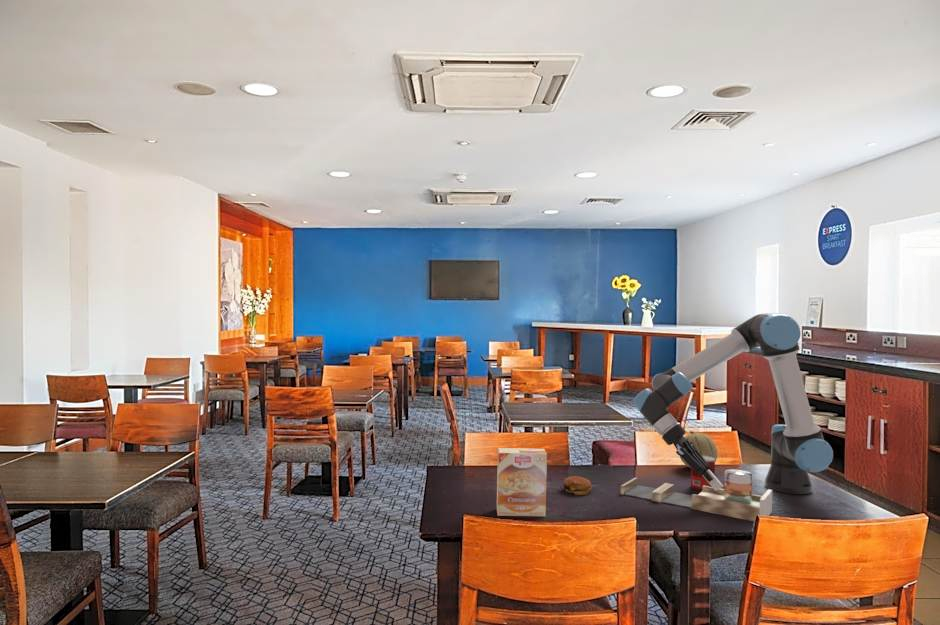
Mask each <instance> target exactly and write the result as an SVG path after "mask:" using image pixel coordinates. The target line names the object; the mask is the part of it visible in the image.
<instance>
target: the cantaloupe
mask: <svg viewBox="0 0 940 625" xmlns="http://www.w3.org/2000/svg"><path fill="white" fill-rule="evenodd" d="M683 437H684V438H686V439H687V440H688V441H689V442H693V443H694V445H695V447H696V448H697V450H698V451H699V452H700V454H701V455H702V456H709V457H712V458H714V459H715V463H716V462H717V460H718V455H719V454H718V448H717V446H716V443H715V442H714V440H713V439H712V438H711V437H709V436H708V434H705V433H701V432H694V431H692V430H690V431H689V434H687V435H685V436H683ZM679 458H680V460H681V463H683V464H684V465H685V466H686V467H688V468H690V469H691V467H690V466H689V464H688V463H687V462H686V461H685V460H684V459H683V458H682V457H680V456H679Z"/></svg>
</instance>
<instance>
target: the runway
mask: <svg viewBox="0 0 940 625" xmlns="http://www.w3.org/2000/svg"><path fill="white" fill-rule="evenodd" d="M638 483H639V480H638V477H634V478H632V479H630V480H628V481H626V482H625V483H623V484H622V485H620V495H622V496H627V497H632V498H636V499H640V500H641V499H642V500H647V501H650V502H651V501H652V502H656V503H661V504H664V505H665V504H667V505H671V506H675V507H681V508H685V509H691V510H696V511H699V512H700V511H701V512H705V513H711V514H716V515H721V516H725V517H731V518H736V519H740V520H745V521H751V522H755V519H756V516H757V515H759V511H760V506H754V505H749V504H744V503H738V502H733V501H728V500H724V488H722V487H721V488H720V489H718V490H717V491H715V490H714V489H713V487H709V486H703V491H701V492H699V493H698V494H694V493H692V494H686V493H681V492H675V484H673V483H668V482H664V483H663V484H662V485H660V486H658V487H656V488H655V487H650V486H645V485H640V484H638ZM762 496H763V495H759V494H753V493H752V500H756V501H760V499H761V497H762Z"/></svg>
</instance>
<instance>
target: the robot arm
mask: <svg viewBox="0 0 940 625" xmlns="http://www.w3.org/2000/svg"><path fill="white" fill-rule="evenodd" d="M800 339H801V328H800V325H799V324H798V323H797V321H796V320H795V319H794V318H792V316H790V315H786V314H783V313H777V312H776V313H768V312H767V313H759V314H756V315H754V316H751V317H750V318H749V319H747V320H745V321H744V322H742V323H741V324H739V325H738V326H736V327H734V328H733V329H731V332H730V334H728V335H726V336H724V337H723V338H721V339H719V340H717V341H715V342H714V343H713V344H710V345H709V346H708V347H705V348H704V349H702V350H700V351H698V352H697V353H696V354H693V355H691V356H690V357H689V358H687V359H686V360H683V361H681V362H680V363H678V364H677V365H675V366H673V367H672V368H670V369H668V370H667V371H665V372H660V373H659V372H658V373H657V374H655V375H654V376H653V377H652V379H651V386H652V389H653V390H651V389H650V388H645V389H643V390H642V391H640V392H639V393H637V394H636V396H635V397H634V398H633V400H632V403H633V405H634V406H635V407H636V408H637V410H638V411H639V412H640V414H641V415H642V417H644V418H645V420H646V421H647V422H648V423H649V424H650V425H651V427H653V431H654V432H657V434H658V435H659V436H662V437H661V439H662V440H663V441H664V442H665V443H666V444H667V445H668V446H671V445H673V446H674V448H675V449H676V451H675V452H676V455H678V456H679V458H680V457H682V458H683V459H684V460H685V461H686V462H687V463H688V464H689V466H690V467H691V468H692V469H693V470H694V471H695V472H696V473H697V474H698V475H699V476H700V475H701V474H702V476H703V477H704V478H705V479H706V480H707V482H708V483H709V484H710V485H711V486H712V487H713V489H714V490H715V491H717V490H718V489H720V488H721V489H722V487H724V484H723V483H722V482H721V481H720V480H719V478H717V476H716V475H714V474H713V473H712V472H711V471H710V469H709V468H711V466H709V464H708V463H707V462H706V460H705V459H704V458H703V456H702V455H701V454H700V452H699V451H698V450H697V448H696V447H695V445H694V443H693V442H689V441H688V440H687V439H686V438H684V437H685V436H684V435H686V430H685V429H684V427H683V426H682V425H681V424H679V423H678V420H677V419H676V418H675V417H674V415H672V413H670V411H669V410H668V409H669V408H670V407H671V406H672V405H674V404H675V403H676V402H678V401H679V400H681V399H682V398H683V397H685V396H687V395H688V393H689V392H691V391H692V390H693V384H692V383H691V382H693V381H694V380H696V379H698V378H700V377H701V376H703V375H706V374H707V373H708V372H710V371H711V370H713V369H715V368H717V367H718V366H721V365H722V364H724V363H725V362H727V361H729V360H731V359H733V358H734V357H736V356H738V355H740V354H741V353H744V352H745V353H748V352H750V351H752V350H755V349H757V348H760V352H761V356H762V357H763V358H764V359H766V360H767V361H768V363H769V368H770V371H771V375H772V378H773V381H774V386H775V390H776V393H777V396H778V401H779V405H780V408H781V411H782V416H783V418H784V423H785V424H774V425H772V427H771V432H770V441H771V442H770V466H769V468H768V472H767V473H766V476H765V480H764V486H765V487H766V488H767V489H770V490H772V491H774V492H778V493H782V494H791V495H807V494H811V493H812V492H813V483H812V480H811V478H810V475H809V473H820V472H822V471H824V470H826V469H828V468H829V466H830V464H831V463H832V461H833V460H834V459H833V458H834V451H833V448H832V446H831V445H830V443H829V442H828V441H827V440H825V438H824V435H823V432H822V428H821V427H820V426H819V425H817V424H816V423H815V421H814V418H813V413H812V411H811V410H812V409H811V407H810V403H809V399H808V396H807V393H806V392H807V391H806V387H805V384H804V380H803V377H802V373H801V369H800V366H799V362H798V359H797V355H798V352H799V351H800V346H799V340H800ZM708 466H709V467H708ZM691 468H690V469H691Z"/></svg>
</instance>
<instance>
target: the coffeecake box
mask: <svg viewBox="0 0 940 625" xmlns="http://www.w3.org/2000/svg"><path fill="white" fill-rule="evenodd" d="M547 464H548V453H547V451H546V449H545V448H527V447H526V448H524V447H523V448H522V447H520V448H519V447H517V448H514V447H498V448H497V468H496V469H497V472H496V474H497V475H496V477H497V478H496V514H497V517H500V516H501V517H502V516H503V517H507V516H508V517H546V515H547V514H546V513H547V475H548V474H547V470H548V465H547Z"/></svg>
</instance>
